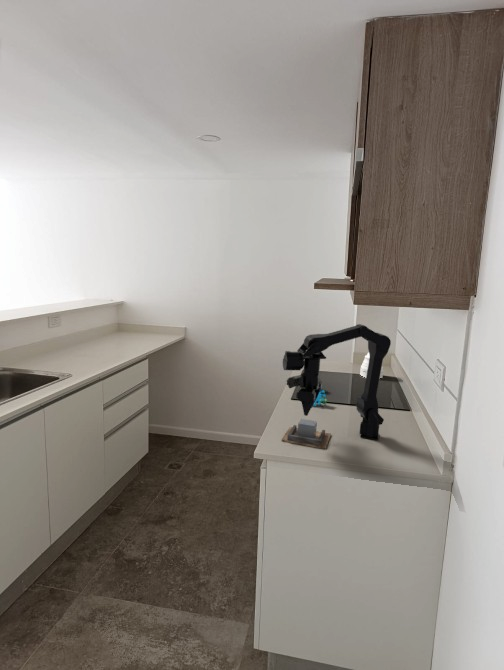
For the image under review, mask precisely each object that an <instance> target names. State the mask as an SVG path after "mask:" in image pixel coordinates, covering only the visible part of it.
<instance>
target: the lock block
mask: <svg viewBox="0 0 504 670" xmlns="http://www.w3.org/2000/svg"><path fill="white" fill-rule="evenodd" d="M317 426H318V421H317V420H311V419H305V418H300V420H299V422H298V425H297V428H298V435H297V436H301V437H307V438H313V439H314V438H315V436H316V431H317Z"/></svg>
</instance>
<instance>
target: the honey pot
mask: <svg viewBox="0 0 504 670" xmlns="http://www.w3.org/2000/svg"><path fill="white" fill-rule="evenodd" d="M369 359H370V354H369V351H368V352H367V354H365V355H364V359H363V361H362V364H361V365H360V369H359V370H360V371H359V372H360V373H359V376H360V375H361V376H363V377H362V378H364V377H365V378H364V379H366V376H367V370H368V365H369ZM361 376H360V377H361ZM383 376H384V367H383V366H382V367H381V373H380V378H382V379H383V378H384V377H383Z"/></svg>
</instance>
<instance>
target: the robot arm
mask: <svg viewBox="0 0 504 670" xmlns="http://www.w3.org/2000/svg"><path fill="white" fill-rule="evenodd" d="M358 338H362V339H364V340H366V341H367V348H368V349H367V350H368V352H369V354H370V359H369V365H368V370H367V376H366V378H365V383H364V389H363V392H362V394H361V396H360V395H357V396H356V402H355V405H354V406H355V407H356V411H357V412H358V414H359V415H360V417H361V418H362V421H360V425H359V436H360V438H363V439H368V440H369V439H370V440H375V441H378V440H379V435H380V433H379V431H380V426H381V425H383V423H384V418H383V417H382V416H381V415H380V413H379V401H378V398H377V395H378V389H379V382H380V380H381V379H380V373H381V367H383V363H384V362H383V361H384V358H385V357H386V355H387V354H388V352H389V350H390V347H391V342H392V341H391V339H390V337H389V336H387V335H386V334H383V333H380V332H376V331H374V330H372V329H370V328H369V327H368V326H366V325H364V324H360V323H359V324H356V325H353V326H351V327H346V328H344V329H343V328H342V329H340V330H336V331H333V332H329V333H314V334H308V335H306V336H305V338H304V339H303V343H302V344H301V346H300V347H299V348H298V349H297V351H290V350H285V352H284V355H283V358H282V368H283V371H301V370H303V372H302V373H301V374H298V375H294V376H290V377H288V378H287V379H286V386H287V387H288V389H292V388H296V387H299V390H297V392H296V396H295V398H296V399H297V400H298V401H300V402H301V406H302V410H303V411H302V412H303V416H308V415H309V413H310V411H311V409H312V408H313V407H314V406H313V405H314V403H315V401H316V399H317V397H318V395H319V392H321V391H322V390H321V389H322V388H323V381H322V380H321V379H320V376H321V371H320V369H321V367H320V366H321V360H326V359H327V356H325V355H324V353H323V351H326V350H327V349H328V348H329V347H331V346H334V345H337V344H341V343H343V342H348V341H351V340H354V339H358ZM320 390H321V391H320Z"/></svg>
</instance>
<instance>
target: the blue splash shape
mask: <svg viewBox="0 0 504 670" xmlns="http://www.w3.org/2000/svg"><path fill="white" fill-rule="evenodd" d="M325 392H326V391H325V389H322V388H321V390H320V392H319V395H318V397H317V399H316V401H315V403H314V405H313V407H317V404H318V406H322V405H324V406H327V402H328V399H327V398H326V397H327V394H325Z"/></svg>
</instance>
